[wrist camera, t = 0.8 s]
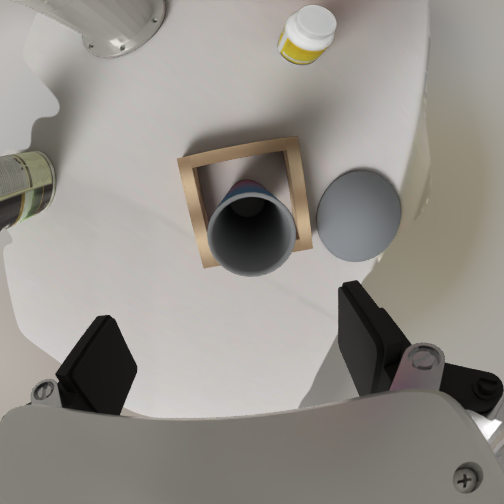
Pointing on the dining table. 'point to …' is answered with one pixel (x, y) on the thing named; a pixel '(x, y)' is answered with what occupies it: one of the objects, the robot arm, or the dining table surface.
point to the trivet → (358, 216)
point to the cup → (251, 231)
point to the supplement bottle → (306, 35)
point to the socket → (244, 150)
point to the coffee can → (25, 186)
